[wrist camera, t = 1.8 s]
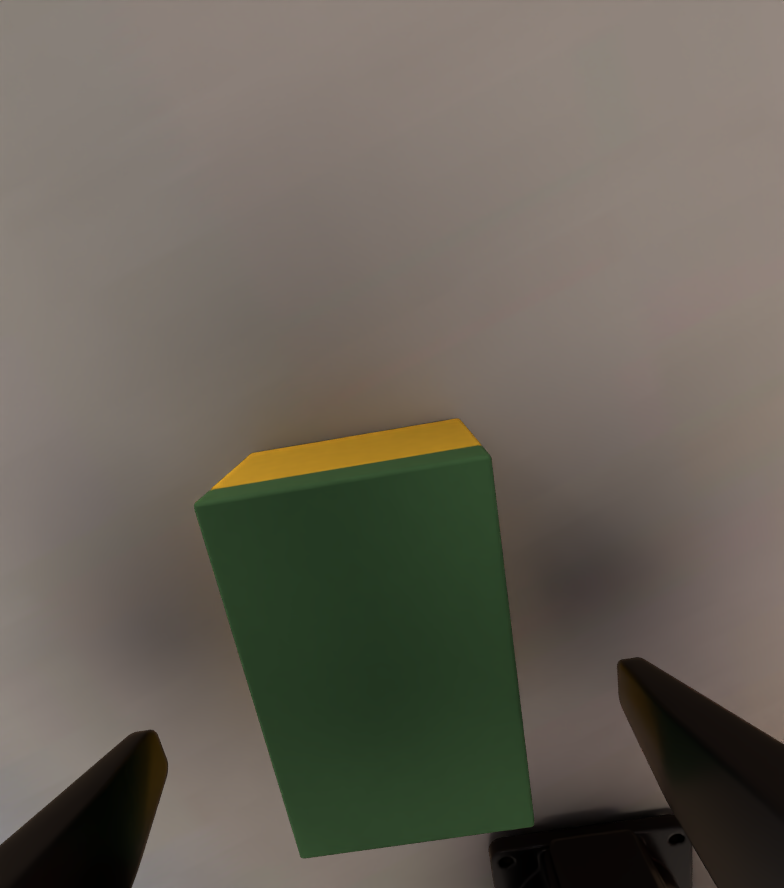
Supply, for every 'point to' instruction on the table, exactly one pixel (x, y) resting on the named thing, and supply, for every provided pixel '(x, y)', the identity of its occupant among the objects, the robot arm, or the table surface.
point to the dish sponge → (376, 635)
